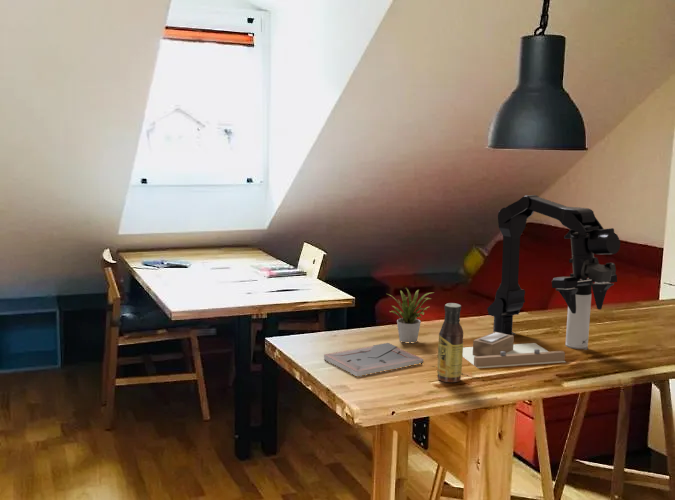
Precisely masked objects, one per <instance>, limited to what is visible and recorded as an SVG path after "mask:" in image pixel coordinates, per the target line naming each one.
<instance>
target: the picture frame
mask: <svg viewBox="0 0 675 500" xmlns="http://www.w3.org/2000/svg"><path fill="white" fill-rule="evenodd" d="M323 360H324V361H325V360H326V361H325V362H327V361H328V362H327V363H329V362H330V363H329V364H331V363H332V364H331V365H333V364H334V365H333V366H335V365H336V366H335V367H337V366H338V367H340V368H342V369H344V370H346V371H348V372H350V373H351V374H350V373H349V374H350V375H352V374H353V375H355V376H360V377H363V376H362V375H365V376H367V375H366V374H370V373H375V372H380V371H384V370H390V369H396V368H400V367H405V366H409V365H414V364H419V363H423V364H424V358H422V357H420V356H417V354H414V353H411V352H409V351H406V350H405V349H401V348H400V347H398V346H396V345H394V344H392V343H390V342H385V343H380V344H373V345H371V346H365V347H364V346H363V347H360V348H354V349H348V350H342V351H337V352H331V353H324V354H323ZM338 367H337V368H338ZM340 368H339V369H340ZM342 369H341V370H342ZM344 370H343V371H344ZM396 370H397V369H396ZM346 371H345V372H346ZM348 372H347V373H348ZM380 373H381V372H380ZM375 374H376V373H375ZM353 375H352V376H353ZM370 375H371V374H370ZM355 376H354V377H355Z"/></svg>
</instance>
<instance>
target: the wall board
mask: <svg viewBox="0 0 675 500" xmlns="http://www.w3.org/2000/svg"><path fill="white" fill-rule="evenodd" d="M565 355H566V352H565V351H564V350H555V351H554V350H552V351H548V350H547V349H546V348H544V347H542V346H541V345H538V344H537V343H536V342H530V343H528V342H527V343H516V344H515V343H513V350H512V351H510V352H507V353H506V352H505V351H501V353H500V355H490V356H475V355H473V346H468V347H467V346H466V347H464V346H463V356H462V358H464V359H465V360H466V361H467V362H469V363H470V364H471V365H473V366H474V367H475V368H477V369H483V368H484V369H485V368H486V369H487V368H501V367H516V366H528V365H529V366H531V365H543V364H545V365H546V364H557V363H559V364H560V363H567V361H565Z"/></svg>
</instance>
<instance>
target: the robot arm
mask: <svg viewBox="0 0 675 500" xmlns="http://www.w3.org/2000/svg"><path fill="white" fill-rule="evenodd" d="M594 212H595V211H594V210H593V209H591V208H587V207H578V206H577V207H574V206H566V205H564V204H560V203H558V202H554V201H551V200H548V199H546V198H543V197H540V196H538V195H536V194H531V195H530V194H529V195H524V196H522V197H521V198H520V199H518V200H517V201H515V202H513V203H511V204H509V205H507V206H506V207H502V208H501V209H500V210H499V211H498V214H497V224H498V225H497V226H498V229H499V231H500V233H501V235H502V258H501V259H502V262H501V280H500V281H501V283H499V287H498V288H497V289H496V292H495V297H494V301H493V302H492V303H491V304H490V305H489V306H488V307H487V308H486V309H487V314H488V316H491V317H493V331H492V333H493V332H499V333H504V334H508V335H516V333H515V332H513V324H514V323H513V321H514V316H518V315H519V314H520V312H521V310H522V309H521V308H523V306H524V303H526V300H525V297H526V296H525V295H526V291H525V289H522V288H521V287H520V284H519V269H520V251H521V250H520V246H521V245H520V244H521V235H522V234H523V233H524V231H525V229H526V226H527V221H528V219H529V218H530V217H532V216H533V214H534V213H537V214H541V215H543V216H546V217H548V218H552V219H554V220H557V221H559V222H560V223H561V225H562V226H564V227H565V228H567V229H569V230H568V232H567V233H566V234H565V235H564V237H563V238H564V239H569V240H570V246H571V258H568V263H571V264H572V273H570V274H569V276H557V277H553V278H552V280H551V289H555V291H556V292H559V294H560V295H561V297H562V298H563V300H564V302H565V304H566V305H567V308H568V307H569V309H570V310H571V312H572V313H573V314H575V313H576V293H577V291H578V289H576V286H577V285H578V284H583V283H591V282H593V284H591V285H592V292H593V297H594V301H595V305H596V308H597V310H603V309H602V308H603V305H604V301H605V298H606V295H607V292H608V290H609V289H610V288H611V287H612V286H614V285H615V283H617V282H618V275H617V274H616V271H617V269H616V268H617V267H616V264H615V262H606V263H605V264H600V262H599V259H598V257H595V255H615V254H617V253H619V251H620V249H621V240H620V238H619V236H618V234H617V233H615V229H614V228H613V227H612V228H611V227H610V228H604V227H603V225H602V224H601V223H600V221H599V220H598V219H597V217H596V215H595V213H594Z"/></svg>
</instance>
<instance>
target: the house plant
mask: <svg viewBox="0 0 675 500" xmlns="http://www.w3.org/2000/svg"><path fill="white" fill-rule="evenodd" d="M404 289H406V291H407V295H405V293H404V292H403V291H402V290H401V289H399V292H400V296H401V301H402V302H401V301H400V299H396V297H394V296H393V295H391V294H389V293H387V295H388V296H390V297H392V299H394V300H395V301H396V303H397V304H398V306H399V307H400V309H399V307H396V306H395V305H391V307H392V308H394V310H391V311H390V310H389V312H388V313H393V314H395V315H397V316H398V317H399V318H398V319H397V320H396V323H397V324H396V325H397V332H398V338H399V342H400V341H402V342H409V343H411V342H416V341H417V342H418V338H419V333H420V327H421V324H422V323H421V322H422V321H421V320H420V319H417V318H418V317H419V318H421V319H422V315H423V316H424V315H425V312H424V311H427V309H428V308H429V306H427V307H424V308H423V307H421V306H423V304H424V303H425V302H427V301H428V300H432V299H433V298H431V297H427V298H426V296H428V295H429V294H430V295H431V294H434V293H435V292H426V293H424V294H423V295H422V296H421V297H420V298H419V299H418V297H419V291H420V289H417V290H416V291H415V293H414V295H413V298H412V295H411V292H410V291H409V289H408V288H407V287H405V288H404ZM417 300H418V301H417ZM419 304H420V305H419ZM417 307H418V308H417ZM420 310H421V311H420ZM402 342H401V343H402ZM417 342H416V343H417Z"/></svg>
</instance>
